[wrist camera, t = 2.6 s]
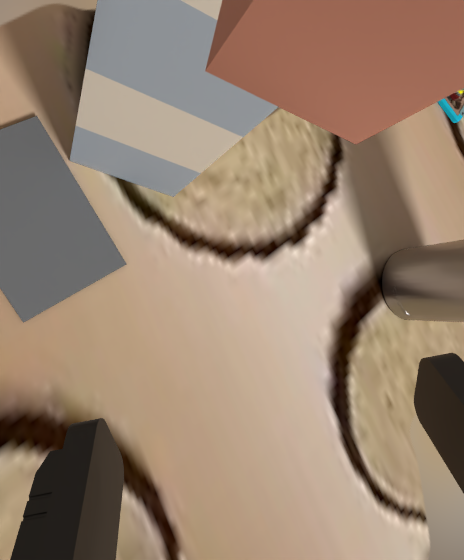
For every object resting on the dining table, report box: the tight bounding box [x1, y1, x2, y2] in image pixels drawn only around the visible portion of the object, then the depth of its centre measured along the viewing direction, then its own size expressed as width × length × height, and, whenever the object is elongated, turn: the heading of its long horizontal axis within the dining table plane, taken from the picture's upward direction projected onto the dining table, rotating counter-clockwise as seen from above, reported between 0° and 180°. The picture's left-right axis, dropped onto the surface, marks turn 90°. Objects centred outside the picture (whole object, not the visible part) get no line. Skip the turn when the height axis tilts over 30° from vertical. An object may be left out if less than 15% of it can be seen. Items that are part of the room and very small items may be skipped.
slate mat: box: [0, 116, 126, 322], centre depth 36 cm, size 10×15×1 cm, turn 32°
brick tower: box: [70, 0, 278, 197], centre depth 26 cm, size 14×10×32 cm
